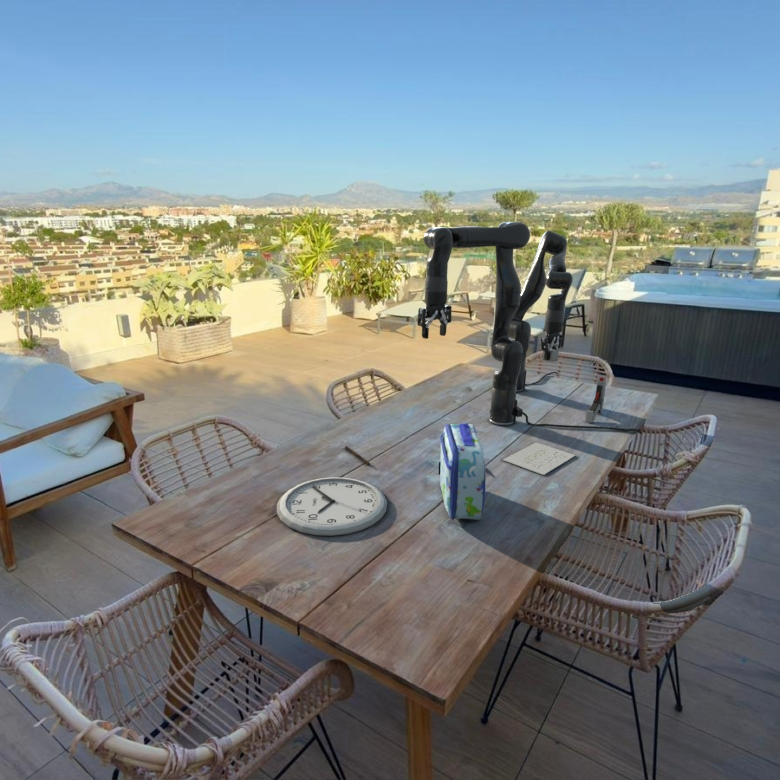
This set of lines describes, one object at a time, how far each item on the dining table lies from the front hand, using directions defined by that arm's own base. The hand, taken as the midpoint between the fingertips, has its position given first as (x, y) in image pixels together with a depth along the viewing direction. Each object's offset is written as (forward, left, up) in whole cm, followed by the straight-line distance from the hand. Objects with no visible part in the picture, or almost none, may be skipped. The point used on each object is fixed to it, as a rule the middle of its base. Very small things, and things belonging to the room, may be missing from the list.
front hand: (434, 336), depth 180 cm
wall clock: (+42, +42, -37) cm, 70 cm away
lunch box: (+7, +48, -37) cm, 61 cm away
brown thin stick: (+30, +12, -37) cm, 49 cm away
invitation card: (-30, +26, -37) cm, 54 cm away
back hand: (-63, -27, -17) cm, 71 cm away
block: (-63, -27, -18) cm, 71 cm away
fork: (-7, +26, -37) cm, 46 cm away
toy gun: (-72, -4, -37) cm, 81 cm away
